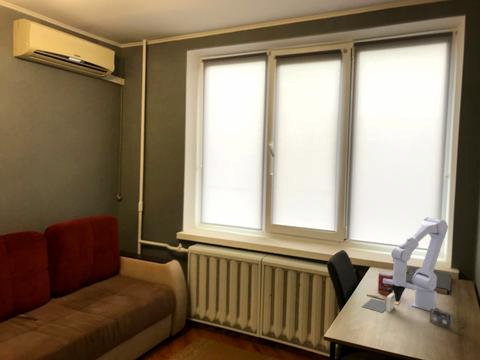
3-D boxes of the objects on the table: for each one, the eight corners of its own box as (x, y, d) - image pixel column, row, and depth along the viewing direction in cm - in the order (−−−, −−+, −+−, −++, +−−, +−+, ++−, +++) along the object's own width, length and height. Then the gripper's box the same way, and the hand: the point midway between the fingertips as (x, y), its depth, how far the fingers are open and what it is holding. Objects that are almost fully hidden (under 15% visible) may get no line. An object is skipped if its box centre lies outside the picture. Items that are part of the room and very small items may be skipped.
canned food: (377, 294, 199) (378, 274, 198) (377, 289, 206) (379, 269, 206) (392, 296, 196) (394, 276, 195) (392, 291, 204) (394, 271, 203)
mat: (391, 304, 186) (391, 303, 186) (382, 312, 175) (382, 312, 175) (371, 298, 192) (371, 298, 192) (361, 306, 181) (361, 306, 181)
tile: (394, 307, 182) (394, 293, 181) (389, 312, 176) (390, 297, 176) (390, 306, 183) (391, 292, 182) (385, 311, 177) (386, 296, 177)
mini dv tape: (450, 327, 162) (451, 314, 161) (449, 328, 161) (450, 315, 160) (431, 321, 168) (431, 308, 167) (429, 322, 167) (430, 309, 166)
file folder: (409, 265, 242) (451, 273, 230) (408, 271, 242) (451, 279, 230) (401, 279, 214) (449, 288, 201) (401, 286, 214) (449, 296, 202)
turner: (400, 302, 189) (400, 300, 189) (397, 305, 185) (397, 303, 185) (368, 294, 199) (369, 292, 199) (365, 296, 195) (365, 295, 195)
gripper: (381, 271, 177) (379, 299, 178) (413, 278, 168) (412, 307, 169) (386, 268, 183) (384, 295, 184) (417, 275, 174) (415, 303, 175)
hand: (397, 301), depth 177 cm, fingers closed
